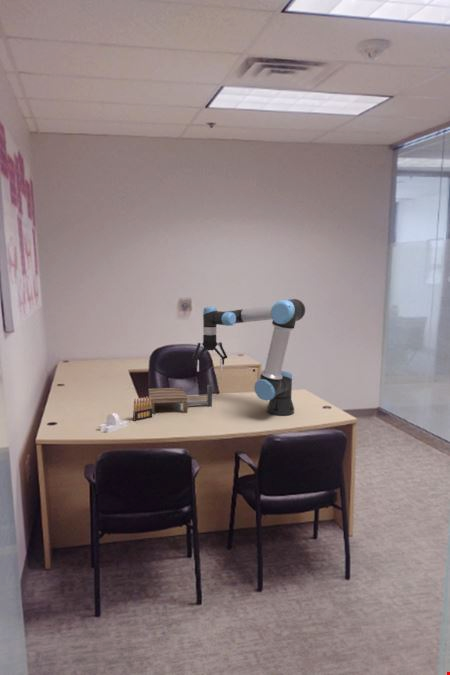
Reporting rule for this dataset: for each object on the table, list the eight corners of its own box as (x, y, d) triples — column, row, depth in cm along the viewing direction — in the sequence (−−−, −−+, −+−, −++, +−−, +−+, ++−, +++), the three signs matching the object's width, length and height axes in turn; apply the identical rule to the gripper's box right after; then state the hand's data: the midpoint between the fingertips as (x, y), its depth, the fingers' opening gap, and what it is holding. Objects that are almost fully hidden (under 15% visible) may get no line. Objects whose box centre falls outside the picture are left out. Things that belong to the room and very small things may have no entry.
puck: (181, 408, 286) (181, 407, 286) (173, 409, 285) (173, 407, 285) (180, 406, 291) (180, 404, 291) (172, 406, 290) (172, 405, 290)
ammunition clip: (134, 421, 262) (134, 398, 260) (133, 420, 263) (132, 398, 262) (152, 417, 268) (152, 395, 267) (150, 416, 270) (150, 395, 268)
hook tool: (212, 407, 289) (212, 386, 287) (186, 408, 286) (186, 387, 284) (210, 404, 295) (210, 384, 294) (184, 405, 293) (184, 385, 291)
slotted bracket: (118, 424, 258) (118, 409, 256) (127, 426, 253) (127, 411, 252) (98, 430, 247) (97, 415, 246) (107, 433, 243) (107, 417, 242)
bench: (187, 412, 277) (187, 397, 276) (150, 414, 274) (150, 399, 272) (182, 401, 301) (182, 387, 299) (148, 402, 297) (148, 388, 296)
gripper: (229, 332, 292) (229, 368, 295) (187, 333, 287) (187, 370, 290) (232, 334, 285) (232, 371, 288) (188, 335, 280) (188, 372, 283)
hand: (209, 370), depth 289 cm, fingers open, 13 cm apart
